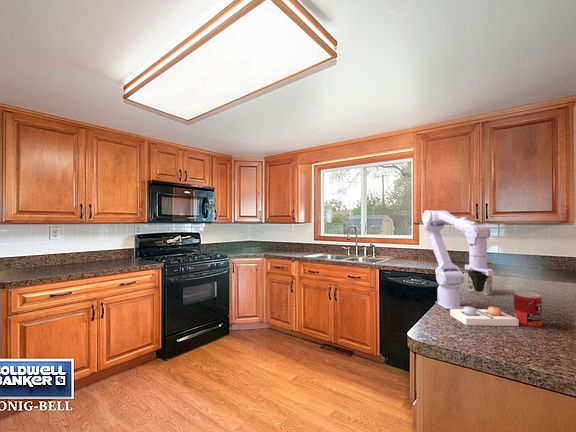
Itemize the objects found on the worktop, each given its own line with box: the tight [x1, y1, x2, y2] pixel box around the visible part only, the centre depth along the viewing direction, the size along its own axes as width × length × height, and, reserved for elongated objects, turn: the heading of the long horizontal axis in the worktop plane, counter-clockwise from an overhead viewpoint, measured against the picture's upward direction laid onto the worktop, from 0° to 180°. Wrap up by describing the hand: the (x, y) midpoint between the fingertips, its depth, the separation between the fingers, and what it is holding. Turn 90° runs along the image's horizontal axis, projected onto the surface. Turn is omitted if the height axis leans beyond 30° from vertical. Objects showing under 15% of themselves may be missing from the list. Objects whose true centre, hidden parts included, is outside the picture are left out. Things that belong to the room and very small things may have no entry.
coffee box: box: [467, 261, 493, 296], centre depth 146 cm, size 9×6×16 cm
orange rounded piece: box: [487, 306, 502, 316], centre depth 105 cm, size 4×4×4 cm
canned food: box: [513, 290, 543, 328], centre depth 102 cm, size 8×8×11 cm
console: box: [449, 308, 520, 327], centre depth 106 cm, size 11×18×3 cm, turn 87°
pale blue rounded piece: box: [463, 305, 477, 316], centre depth 106 cm, size 4×4×4 cm
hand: (478, 291), depth 108 cm, fingers closed
